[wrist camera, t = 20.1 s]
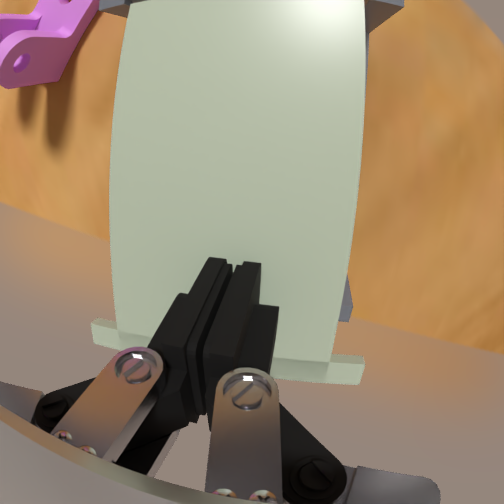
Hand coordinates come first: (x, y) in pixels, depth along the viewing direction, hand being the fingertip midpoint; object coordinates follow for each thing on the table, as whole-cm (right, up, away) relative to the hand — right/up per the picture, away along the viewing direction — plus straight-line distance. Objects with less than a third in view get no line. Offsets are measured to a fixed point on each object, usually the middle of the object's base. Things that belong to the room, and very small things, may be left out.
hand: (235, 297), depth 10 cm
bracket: (-12, +20, +4) cm, 24 cm away
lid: (0, +4, 0) cm, 4 cm away
